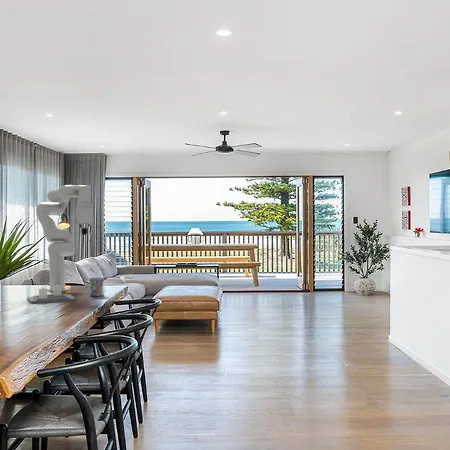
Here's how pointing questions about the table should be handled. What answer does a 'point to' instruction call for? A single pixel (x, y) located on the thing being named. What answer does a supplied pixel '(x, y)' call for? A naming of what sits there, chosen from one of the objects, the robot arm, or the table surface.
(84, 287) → the table surface
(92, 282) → the mug
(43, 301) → the switch bank
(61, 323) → the table surface
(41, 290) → the tab
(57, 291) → the tab
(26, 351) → the table surface
